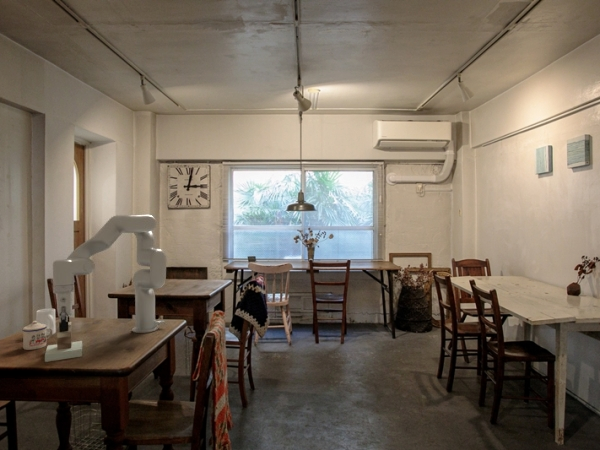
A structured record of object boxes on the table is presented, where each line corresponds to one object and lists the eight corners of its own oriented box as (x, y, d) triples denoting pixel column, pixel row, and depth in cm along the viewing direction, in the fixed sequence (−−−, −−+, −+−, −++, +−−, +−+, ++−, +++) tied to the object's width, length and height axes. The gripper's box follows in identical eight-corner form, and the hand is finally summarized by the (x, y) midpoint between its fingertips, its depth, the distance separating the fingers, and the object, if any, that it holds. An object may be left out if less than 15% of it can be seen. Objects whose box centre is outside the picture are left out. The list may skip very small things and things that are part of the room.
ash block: (71, 333, 168) (71, 321, 168) (71, 336, 164) (70, 324, 164) (57, 334, 166) (57, 323, 165) (57, 338, 161) (56, 326, 161)
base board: (82, 347, 173) (82, 340, 173) (81, 356, 162) (81, 349, 162) (47, 352, 167) (47, 345, 167) (44, 361, 156) (44, 354, 156)
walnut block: (71, 344, 168) (71, 333, 168) (71, 348, 164) (71, 336, 164) (58, 346, 166) (57, 334, 166) (57, 350, 161) (57, 338, 161)
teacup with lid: (29, 351, 168) (28, 325, 168) (18, 348, 173) (18, 322, 173) (57, 343, 179) (57, 318, 179) (47, 340, 183) (46, 316, 183)
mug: (43, 338, 187) (42, 314, 187) (33, 334, 194) (33, 310, 194) (61, 334, 193) (61, 310, 193) (51, 330, 200) (51, 307, 200)
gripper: (73, 291, 159) (74, 332, 159) (74, 284, 174) (75, 322, 174) (51, 292, 155) (52, 335, 155) (54, 286, 170) (55, 325, 170)
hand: (64, 328), depth 165 cm, fingers open, 9 cm apart
